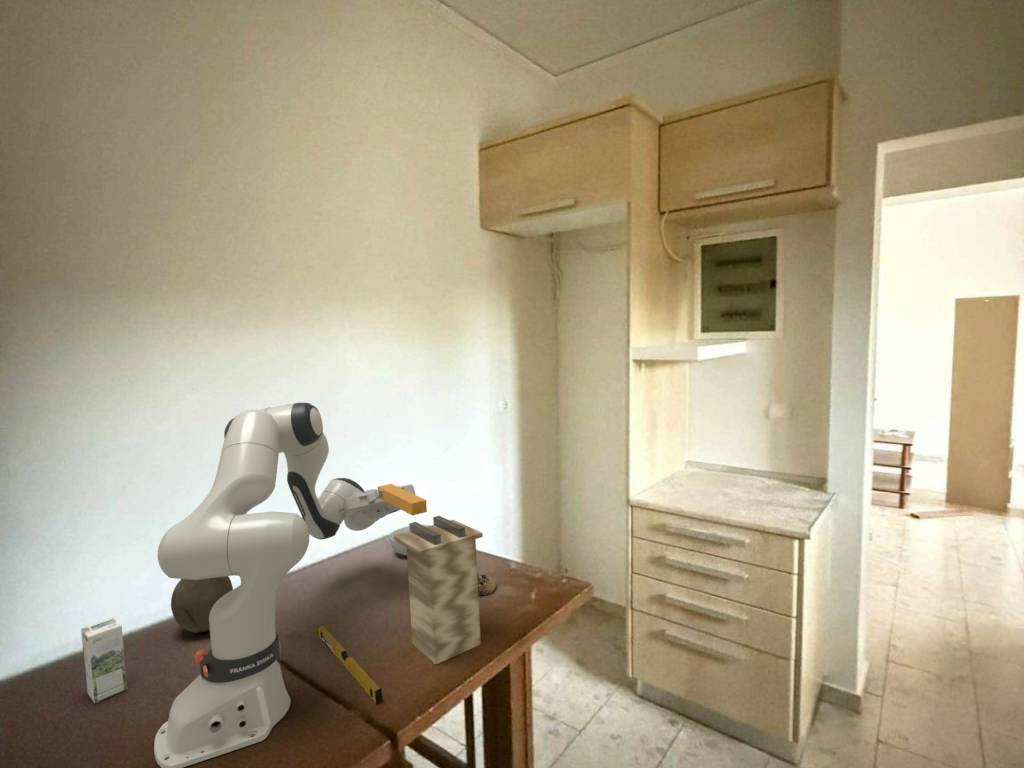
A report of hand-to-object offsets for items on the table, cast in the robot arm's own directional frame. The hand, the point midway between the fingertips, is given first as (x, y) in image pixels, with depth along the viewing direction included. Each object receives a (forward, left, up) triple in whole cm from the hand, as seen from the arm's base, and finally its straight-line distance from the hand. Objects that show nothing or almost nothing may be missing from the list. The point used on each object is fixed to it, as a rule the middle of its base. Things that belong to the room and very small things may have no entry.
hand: (389, 491), depth 142 cm
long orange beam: (0, -7, -2) cm, 7 cm away
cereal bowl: (+21, +29, -31) cm, 47 cm away
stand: (0, -27, -31) cm, 41 cm away
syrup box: (-63, +5, -31) cm, 71 cm away
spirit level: (-21, -20, -32) cm, 43 cm away
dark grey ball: (-43, +21, -31) cm, 57 cm away
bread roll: (+21, -9, -32) cm, 39 cm away
